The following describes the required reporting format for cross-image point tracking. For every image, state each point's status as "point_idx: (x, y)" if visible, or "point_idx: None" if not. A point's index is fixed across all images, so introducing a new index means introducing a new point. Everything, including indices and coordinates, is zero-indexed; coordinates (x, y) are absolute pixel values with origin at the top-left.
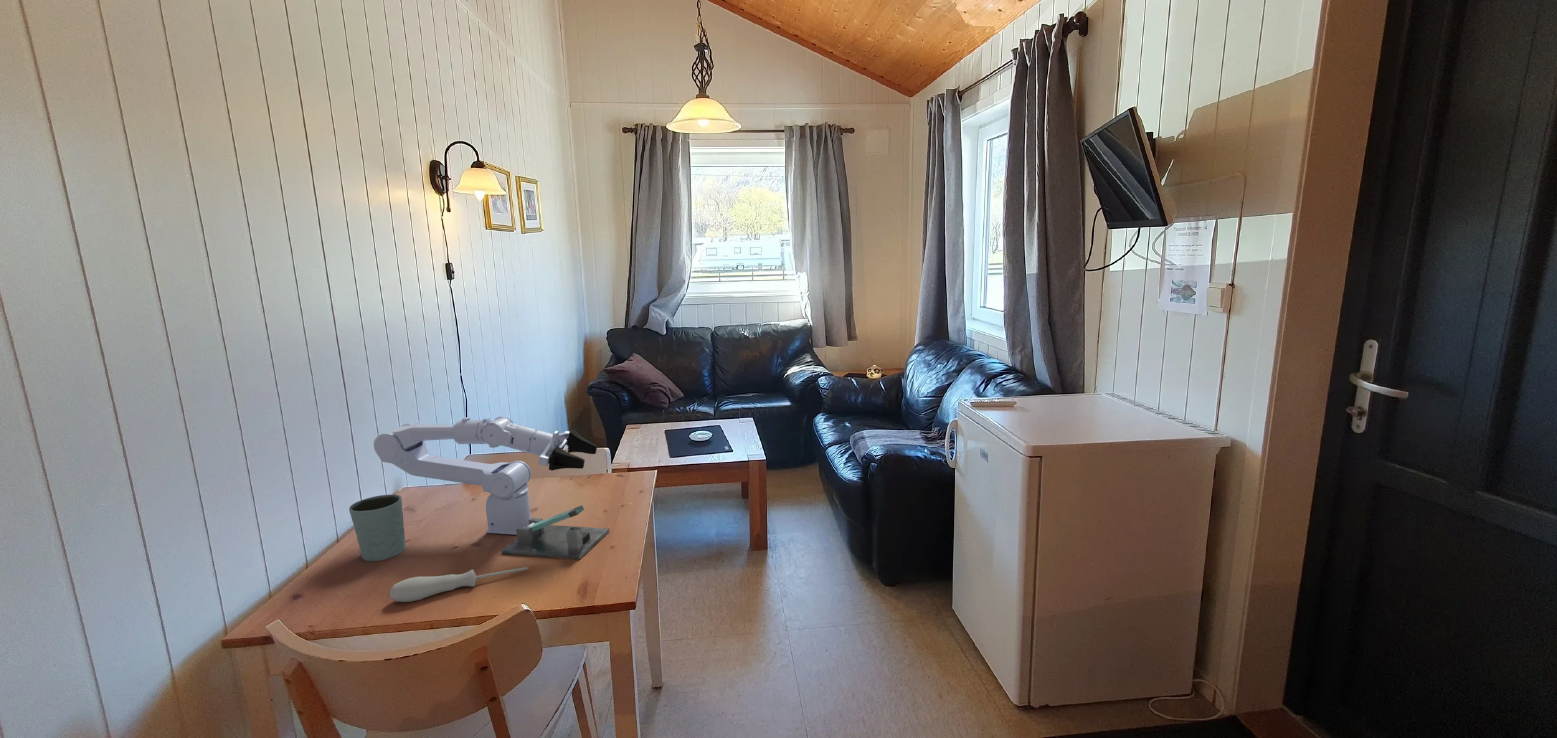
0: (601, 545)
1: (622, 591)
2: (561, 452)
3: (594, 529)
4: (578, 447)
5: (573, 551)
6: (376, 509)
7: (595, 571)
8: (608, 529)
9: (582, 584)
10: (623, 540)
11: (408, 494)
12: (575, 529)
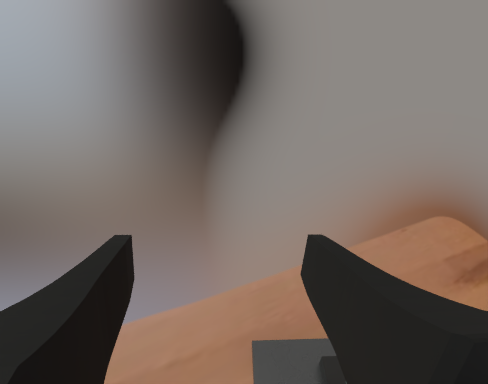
0: None
1: (437, 220)
2: (436, 303)
3: (266, 381)
4: (94, 371)
5: None
6: None
7: (421, 282)
8: (255, 341)
9: (470, 281)
10: (286, 290)
11: None
12: None
